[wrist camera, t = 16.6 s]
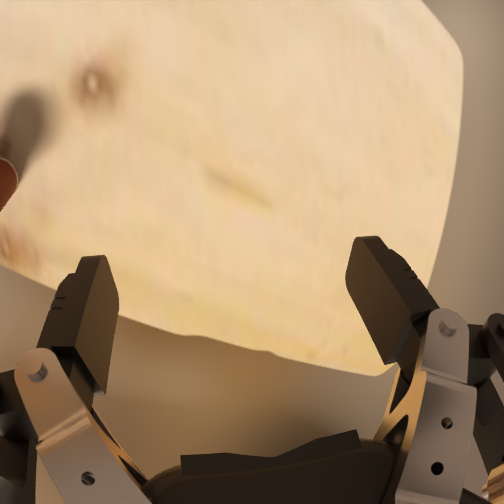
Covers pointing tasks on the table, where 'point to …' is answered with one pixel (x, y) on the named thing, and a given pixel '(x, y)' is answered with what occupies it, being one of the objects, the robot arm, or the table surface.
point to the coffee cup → (7, 181)
